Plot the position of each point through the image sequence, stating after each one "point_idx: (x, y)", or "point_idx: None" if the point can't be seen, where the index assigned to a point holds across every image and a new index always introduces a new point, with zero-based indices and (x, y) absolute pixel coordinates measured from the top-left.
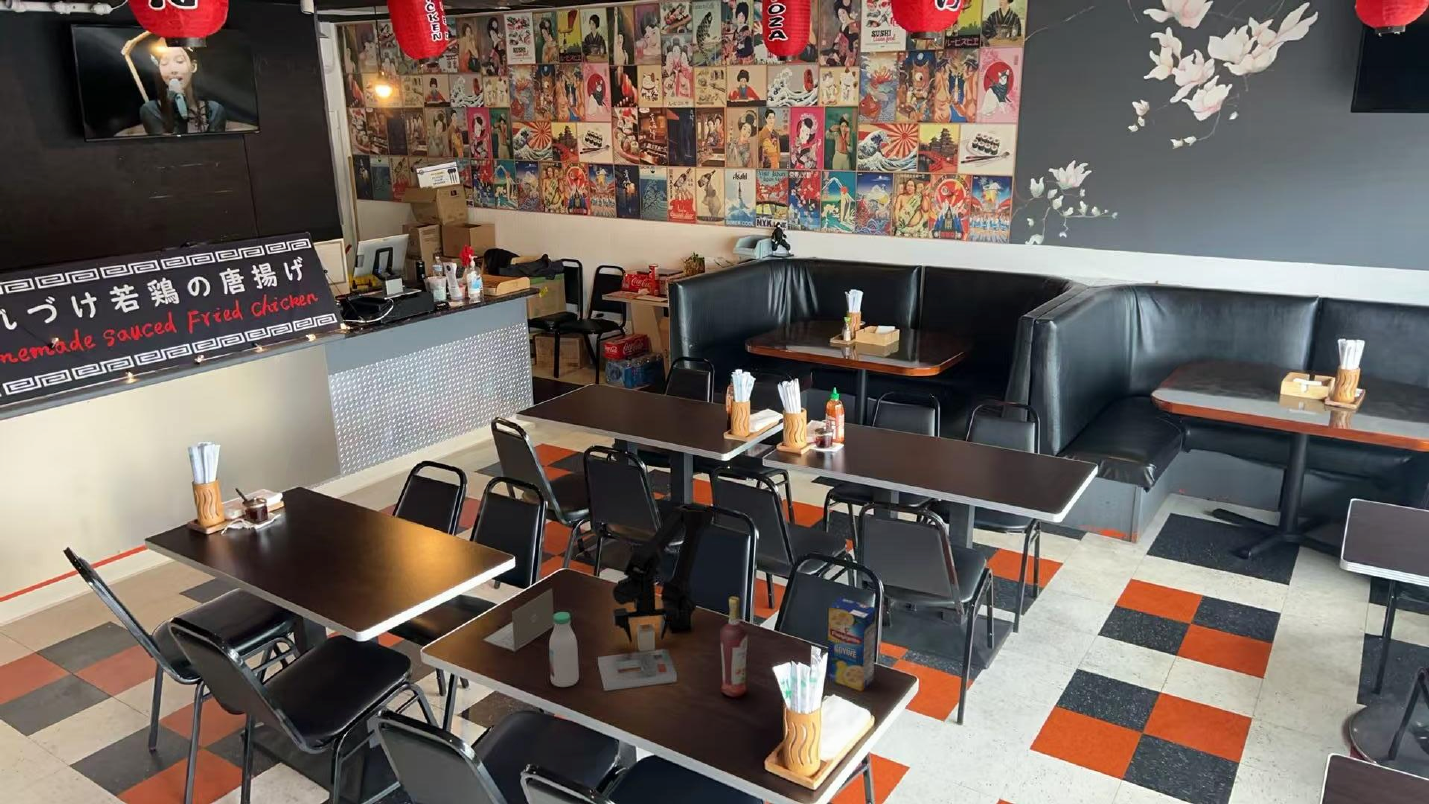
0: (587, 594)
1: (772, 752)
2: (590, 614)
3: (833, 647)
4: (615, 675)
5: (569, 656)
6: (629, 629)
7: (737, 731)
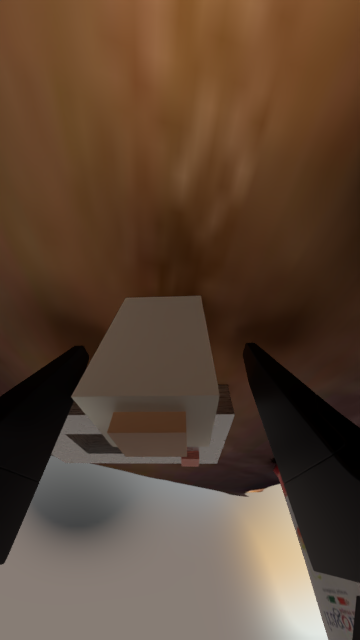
0: None
1: (263, 488)
2: None
3: None
4: (82, 455)
5: None
6: (26, 500)
7: (248, 480)
